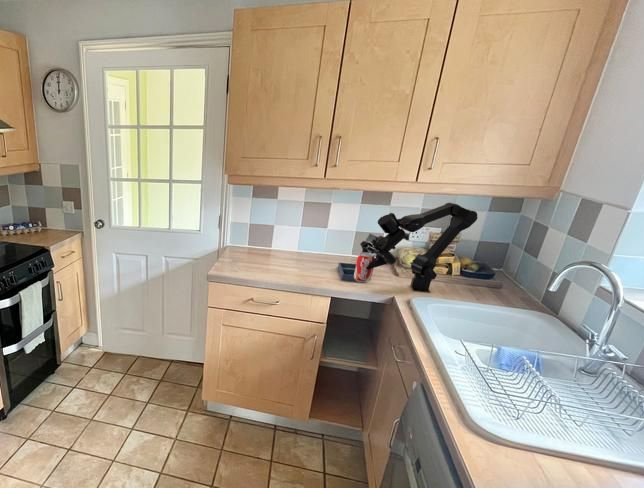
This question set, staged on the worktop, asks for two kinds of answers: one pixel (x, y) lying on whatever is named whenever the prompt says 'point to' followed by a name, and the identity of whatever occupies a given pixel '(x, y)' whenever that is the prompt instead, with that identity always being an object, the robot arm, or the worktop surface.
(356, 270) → the soda can
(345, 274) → the can rack
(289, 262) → the worktop surface
